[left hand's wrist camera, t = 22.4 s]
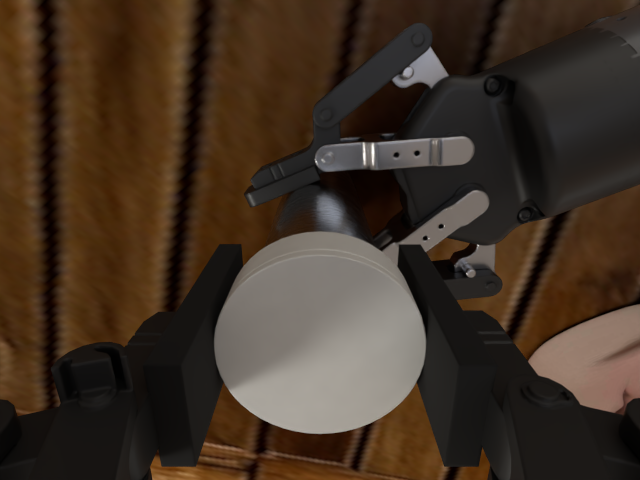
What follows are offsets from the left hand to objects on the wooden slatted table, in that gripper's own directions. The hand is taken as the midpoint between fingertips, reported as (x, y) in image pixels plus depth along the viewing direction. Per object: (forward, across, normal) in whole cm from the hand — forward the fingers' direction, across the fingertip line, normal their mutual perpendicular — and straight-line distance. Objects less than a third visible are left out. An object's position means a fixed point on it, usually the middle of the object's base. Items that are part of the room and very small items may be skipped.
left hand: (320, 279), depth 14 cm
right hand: (+7, -2, -1) cm, 7 cm away
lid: (-4, 0, 0) cm, 4 cm away
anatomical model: (+13, +22, -14) cm, 29 cm away
